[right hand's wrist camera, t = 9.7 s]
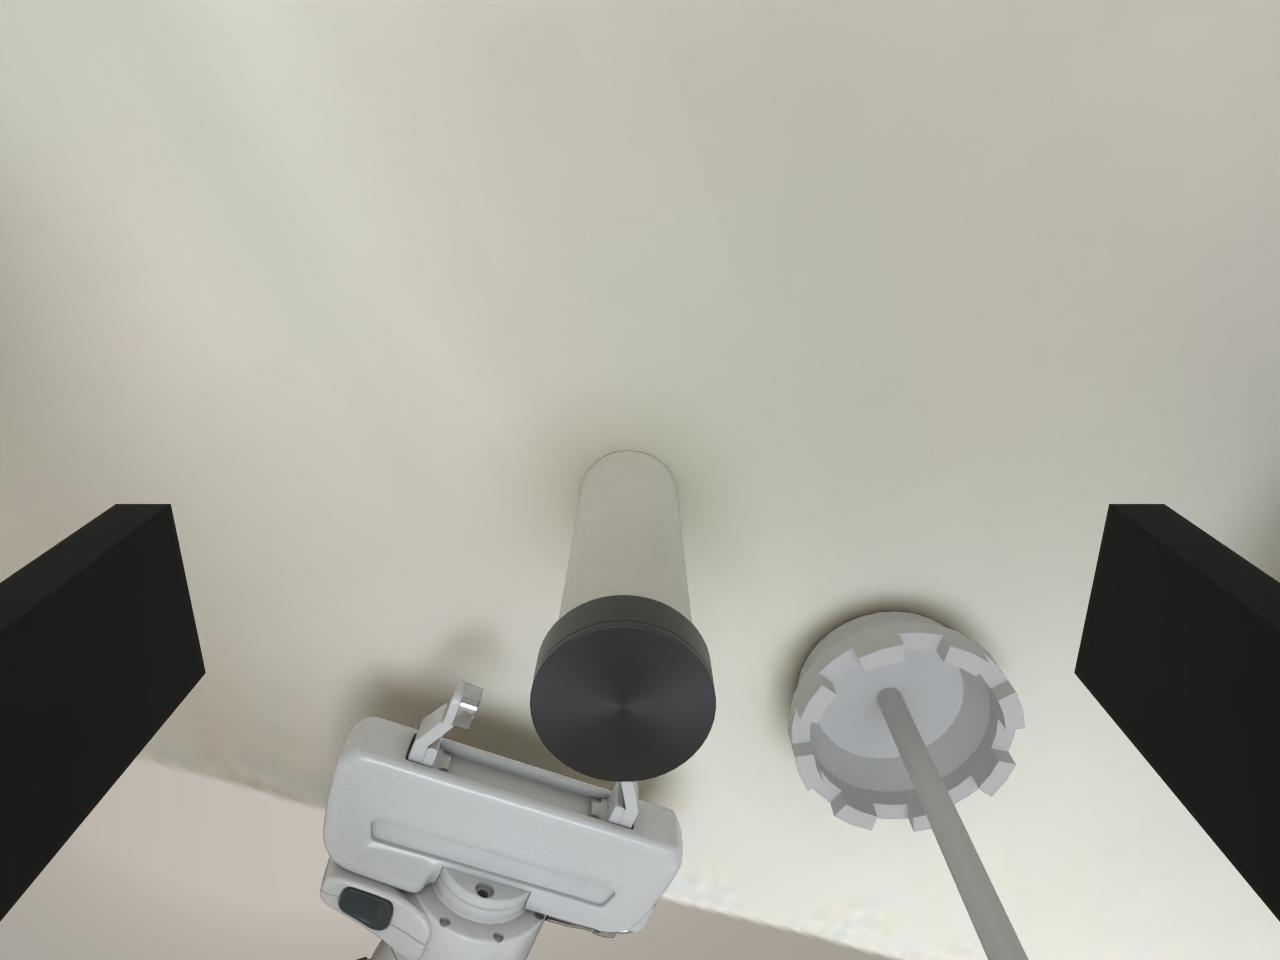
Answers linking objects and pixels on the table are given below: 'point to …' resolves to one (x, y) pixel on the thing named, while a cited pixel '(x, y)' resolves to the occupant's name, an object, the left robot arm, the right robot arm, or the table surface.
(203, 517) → the table surface
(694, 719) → the lid
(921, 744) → the flag stand
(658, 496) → the jar
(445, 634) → the table surface
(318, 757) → the table surface
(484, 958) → the left robot arm
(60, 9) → the table surface
